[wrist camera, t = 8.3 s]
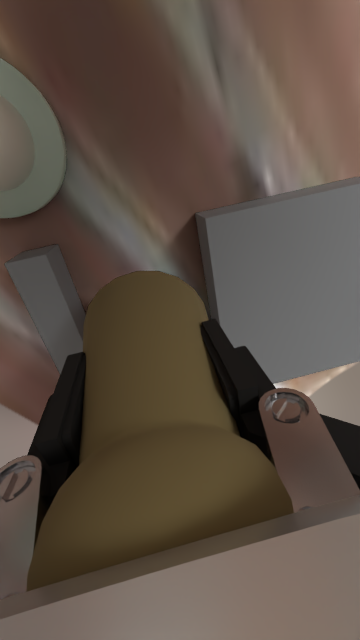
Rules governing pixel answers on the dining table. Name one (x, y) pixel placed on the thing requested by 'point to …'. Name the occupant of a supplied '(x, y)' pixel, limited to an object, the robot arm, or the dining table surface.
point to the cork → (151, 440)
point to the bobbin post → (27, 146)
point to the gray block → (245, 281)
